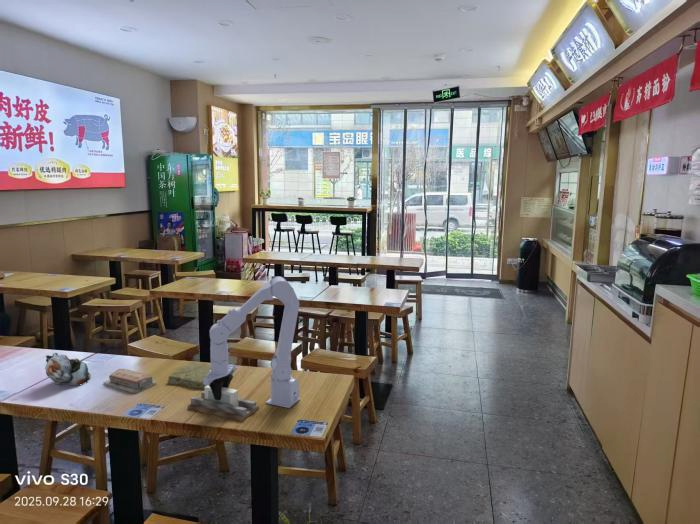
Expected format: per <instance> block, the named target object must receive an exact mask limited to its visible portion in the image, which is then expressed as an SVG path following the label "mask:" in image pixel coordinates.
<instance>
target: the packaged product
mask: <svg viewBox="0 0 700 524" xmlns="http://www.w3.org/2000/svg"><path fill="white" fill-rule="evenodd" d="M108 377H109V379H108V380H106V381H105V382H103V385H105V384H106V385H105V386H109V387H112V386H113V388H115V387H116V389H118V388H119V390H121V389H122V391H125V390H126V391H125V392H129V393H132V394H138V393H140V392H143V391H145V390H147V389H149V388H152V387H154V386H156V385H157V381H156V380H153V376H152V375H149V374H145V373H142V372H138V371H134V370H130V369H127V368H119V369H118V368H117V369H116V370H115V371H114V372H111V374H109V375H108ZM142 390H143V391H142Z"/></svg>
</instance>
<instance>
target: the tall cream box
mask: <svg viewBox="0 0 700 524" xmlns="http://www.w3.org/2000/svg"><path fill="white" fill-rule="evenodd" d="M203 391H205V399H207V400H211V401H216V402H220V403H225V404H229V405H234V406H238V407H239V405H238V398H239V390H238V389H234V388H231V387H230V388H225V387H222V390H221V399H220V400H215V399H214V396H213V393H212V390H211V388H210V386H209V385H207V386H205V387H204V388H203Z"/></svg>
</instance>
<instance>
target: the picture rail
mask: <svg viewBox="0 0 700 524" xmlns="http://www.w3.org/2000/svg"><path fill="white" fill-rule="evenodd" d="M200 394H201V395H200V397H198V396H197V397H196V396H192V397H190V404H188V405H187V409H189V410H194V411H197V412H202V413H205V414H209V415H210V414H211V415H214V416H218V417H222V418H227V419H230V420H235V421H238V422H242V421H244V420H245V419H247V418H248V417H249V416H250V415H252V414H253V413H255V412H256V411H258V410H259V408H260V406H259V405H257V402H256V401H253V400H249V399H245V398H244V399H243V398H241V397H238V405H239V407H238V406H234V405H229V404H225V403H220V402H216V401H211V400H207V399H205V390H202V391H201V392H200Z"/></svg>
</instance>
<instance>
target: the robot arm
mask: <svg viewBox="0 0 700 524" xmlns="http://www.w3.org/2000/svg"><path fill="white" fill-rule="evenodd" d="M274 297H275V298H276V299H277V300H279V301H280V302H281V303H282V304H283V305H284V308H283V315H282V320H281V325H280V330H279V334H278V335H279V337H278V341H277V346H276V350H275V352H274V355H273V357H272V358H271V360H270V364H269V365H270V367H271V369H272V373H271V375H270V398H269V399H268V400H267V401H265V404H268V405H274V406H277V407H282V408H286V409H290V408H291V407H292V406H294V405H295V404H296V403H297V402H298V401H300V400H301V398H300V382H299V381H298V379H296V378H294V377H293V376H292V371H293V369H292V367H291V363H292V354H291V353H292V347H293V342H294V336H295V330H296V325H297V322H298V321H297V320H298V315H299V310H300V301H299V298H298V296H297V294H296V291H295V290H294V288H293V287H292V285H291V283H289V282H288V281H287V279H286V278H284V277H283V276H273V277H272V278H271V279H270V281H267V282H265V283H264V284H263V286H261V287H260V288H259V289H258V290H257V291H256V292H255V293H254V294H253V295H252V296H251V297H250V298H249V299H248V300H247V301H245V303H243V305H241V306H240V307H234V308H232V309H231V308H230V309H229V310H227V314H226V315H224V316H223V317H222V318H221V319H218V320H217V321H216V323H213V325H212V326H210V329H209V338H210V347H209V350H210V353H209V355H210V364H211V370H209V374H208V375H207V377H205V378H204V379H203V384H204V385H209V386H210V388H211V390H212V393H213V396H214V399H215V400H220V399H221V390H222V387H225V388H229V387H230V384H231V382H232V379H233V378H234V375H233V373H232V374H229V373H230V372H231V371H234V372H235V371H236V365H235V364H232V363H230V364H229V345H228V339H229V335H230V334H231V335H232V333H234V331H236V330H238V328H239V327H240V326H242V324H244V323H245V322H246V320H247V315H248V314H249V313H251V312H252V311H253V310H254V309H256V308H257V307H259V305H261V304H262V303H263V302H265V301H274Z"/></svg>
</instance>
